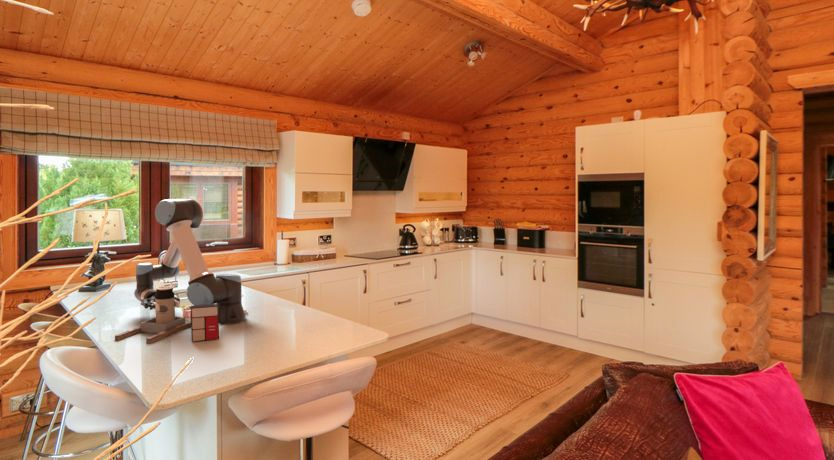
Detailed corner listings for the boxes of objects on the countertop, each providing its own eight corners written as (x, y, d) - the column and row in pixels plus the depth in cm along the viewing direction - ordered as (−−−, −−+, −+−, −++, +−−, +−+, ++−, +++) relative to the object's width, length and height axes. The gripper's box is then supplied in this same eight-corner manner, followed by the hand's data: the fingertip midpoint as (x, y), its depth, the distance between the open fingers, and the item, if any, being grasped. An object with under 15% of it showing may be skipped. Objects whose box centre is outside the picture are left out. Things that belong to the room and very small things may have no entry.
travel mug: (162, 322, 234) (160, 285, 232) (178, 323, 234) (177, 285, 232) (152, 327, 226) (151, 289, 224) (169, 328, 226) (168, 289, 224)
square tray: (185, 325, 233) (185, 317, 233) (165, 333, 221) (165, 324, 220) (161, 323, 236) (161, 315, 236) (140, 331, 224) (140, 322, 223)
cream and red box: (191, 342, 210) (190, 308, 209) (191, 339, 214) (190, 305, 213) (219, 339, 214) (218, 305, 213) (219, 337, 218) (218, 303, 217)
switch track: (191, 326, 234) (191, 321, 234) (150, 343, 209) (150, 338, 208) (158, 323, 238) (158, 319, 237) (114, 339, 212) (114, 334, 212)
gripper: (174, 301, 249) (192, 310, 233) (128, 308, 234) (144, 318, 219) (173, 287, 248) (191, 294, 233) (127, 293, 234) (143, 301, 218)
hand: (168, 306), depth 226 cm, fingers closed on travel mug, 8 cm apart
